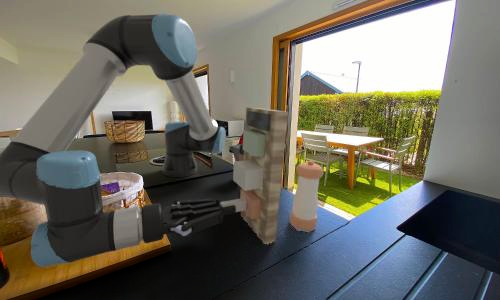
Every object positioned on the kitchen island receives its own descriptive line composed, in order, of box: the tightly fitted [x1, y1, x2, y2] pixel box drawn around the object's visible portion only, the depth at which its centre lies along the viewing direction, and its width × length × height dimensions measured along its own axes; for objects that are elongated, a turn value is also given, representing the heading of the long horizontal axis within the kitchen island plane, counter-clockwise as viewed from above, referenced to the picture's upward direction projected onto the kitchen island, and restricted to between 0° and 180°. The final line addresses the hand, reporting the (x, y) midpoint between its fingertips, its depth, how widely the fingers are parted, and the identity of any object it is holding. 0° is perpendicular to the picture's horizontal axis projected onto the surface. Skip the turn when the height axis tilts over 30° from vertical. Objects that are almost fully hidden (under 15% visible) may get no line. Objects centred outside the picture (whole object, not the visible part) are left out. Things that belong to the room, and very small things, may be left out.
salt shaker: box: [289, 160, 324, 231], centre depth 56 cm, size 7×7×19 cm
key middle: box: [232, 160, 264, 191], centre depth 51 cm, size 7×5×5 cm
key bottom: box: [240, 189, 261, 219], centre depth 54 cm, size 7×5×5 cm
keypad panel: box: [240, 107, 289, 245], centre depth 52 cm, size 14×4×32 cm, turn 27°
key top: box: [242, 129, 266, 157], centre depth 50 cm, size 7×5×5 cm
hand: (245, 203), depth 52 cm, fingers closed
